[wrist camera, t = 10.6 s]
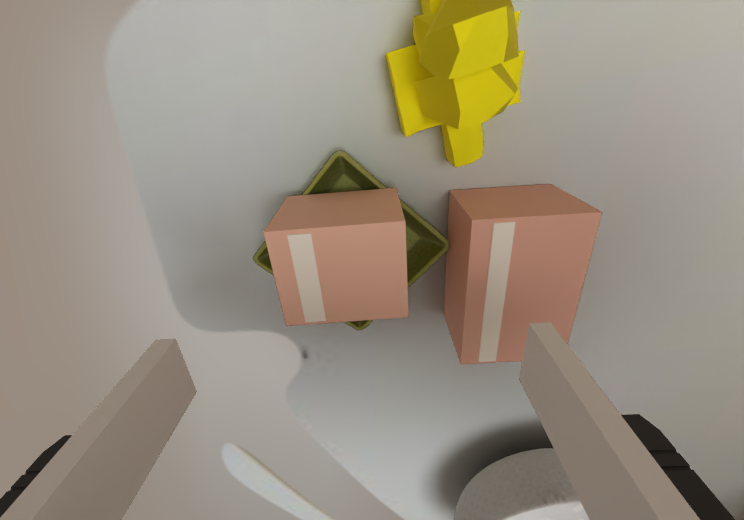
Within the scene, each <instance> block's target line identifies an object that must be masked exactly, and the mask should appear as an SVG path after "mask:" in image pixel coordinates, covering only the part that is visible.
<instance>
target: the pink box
mask: <svg viewBox="0 0 744 520" xmlns="http://www.w3.org/2000/svg"><path fill="white" fill-rule="evenodd" d="M263 233H264V237H265V241H266V245H267V249H268V253H269V257H270V261H271V266H272V270H273V274H274V278H275V282H276V286H277V290H278V294H279V298H280V302H281V307H282V311H283V315H284V319H285V323H286V326H292V325H306V324H320V323H334V322H348V321H363V320H377V319H391V318H405V317H409V313H408V283H407V254H406V224H405V218H404V214H403V210H402V207H401V203H400V200H399V196H398V192H397V189H396V188H386V189H374V190H361V191H349V192H336V193H323V194H311V195H298V196H287V198H286V199H285V201H284V202H283V204H282V205H281V207H280V208H279V210H278V211H277V213H276V214H275V216H274V217H273V218H272V220H271V221H270V223H269V224H268V226H267V227H266V229H265V230H264V232H263Z"/></svg>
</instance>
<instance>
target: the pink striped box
mask: <svg viewBox="0 0 744 520" xmlns="http://www.w3.org/2000/svg"><path fill="white" fill-rule="evenodd" d="M601 215H602V212H601V211H599V210H597V209H596V208H594V207H592V206H590V205H588V204H586V203H585V202H583V201H581V200H579V199H577V198H576V197H574V196H572V195H570V194H568V193H566V192H565V191H563V190H561V189H559V188H557V187H555V186H554V185H552V184H542V185H525V186H509V187H493V188H477V189H460V190H449V209H448V232H447V240H448V241H449V249H448V251H447V254H446V276H445V298H444V315H445V318H446V322H447V325H448V328H449V331H450V334H451V337H452V340H453V343H454V346H455V349H456V352H457V355H458V358H459V361H460V364H476V363H495V362H514V361H523V356H524V350H525V345H526V339H527V333H528V328H529V323H547V322H551V323H552V325H553V326H554V327H555V329H556V330H557V331H558V333H559V334H560V335H561V337H562V338H563V339H564V341H565V342H566V343H567V345H568V341H569V337H570V333H571V330H572V326H573V322H574V318H575V314H576V310H577V307H578V303H579V299H580V295H581V291H582V288H583V284H584V280H585V276H586V272H587V268H588V265H589V261H590V257H591V253H592V249H593V246H594V242H595V238H596V234H597V230H598V226H599V223H600V219H601Z"/></svg>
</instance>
